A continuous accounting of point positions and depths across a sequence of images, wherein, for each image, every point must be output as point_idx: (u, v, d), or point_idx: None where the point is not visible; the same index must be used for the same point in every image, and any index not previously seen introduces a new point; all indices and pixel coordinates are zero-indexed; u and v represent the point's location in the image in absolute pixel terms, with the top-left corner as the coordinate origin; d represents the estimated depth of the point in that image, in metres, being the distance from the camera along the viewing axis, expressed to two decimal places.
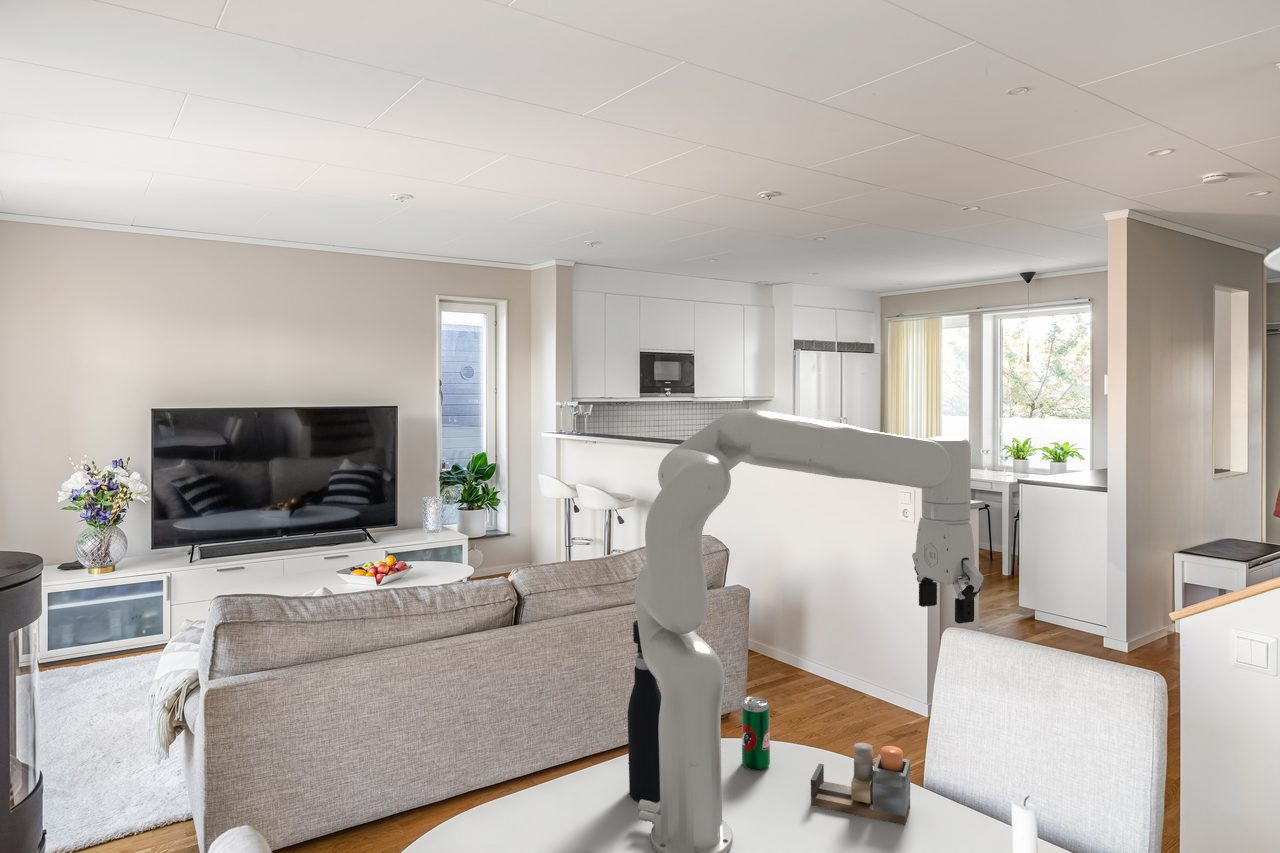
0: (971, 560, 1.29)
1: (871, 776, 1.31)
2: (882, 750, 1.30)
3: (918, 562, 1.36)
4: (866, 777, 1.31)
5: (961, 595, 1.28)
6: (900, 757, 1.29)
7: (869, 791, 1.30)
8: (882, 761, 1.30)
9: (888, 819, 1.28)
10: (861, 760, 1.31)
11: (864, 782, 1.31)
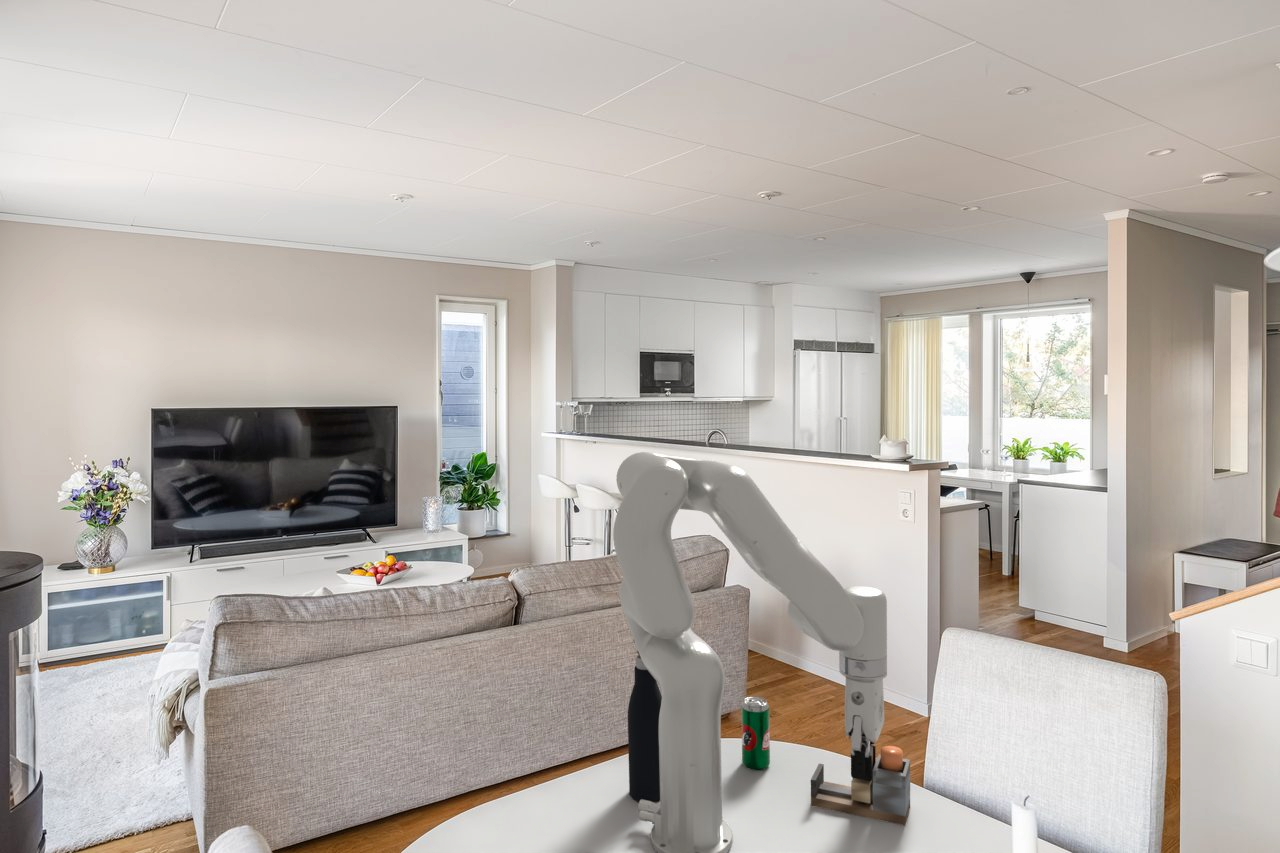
0: None
1: None
2: (882, 750, 1.30)
3: (876, 729, 1.27)
4: None
5: None
6: (900, 757, 1.29)
7: (869, 791, 1.30)
8: (882, 761, 1.30)
9: (888, 819, 1.28)
10: None
11: (864, 782, 1.31)
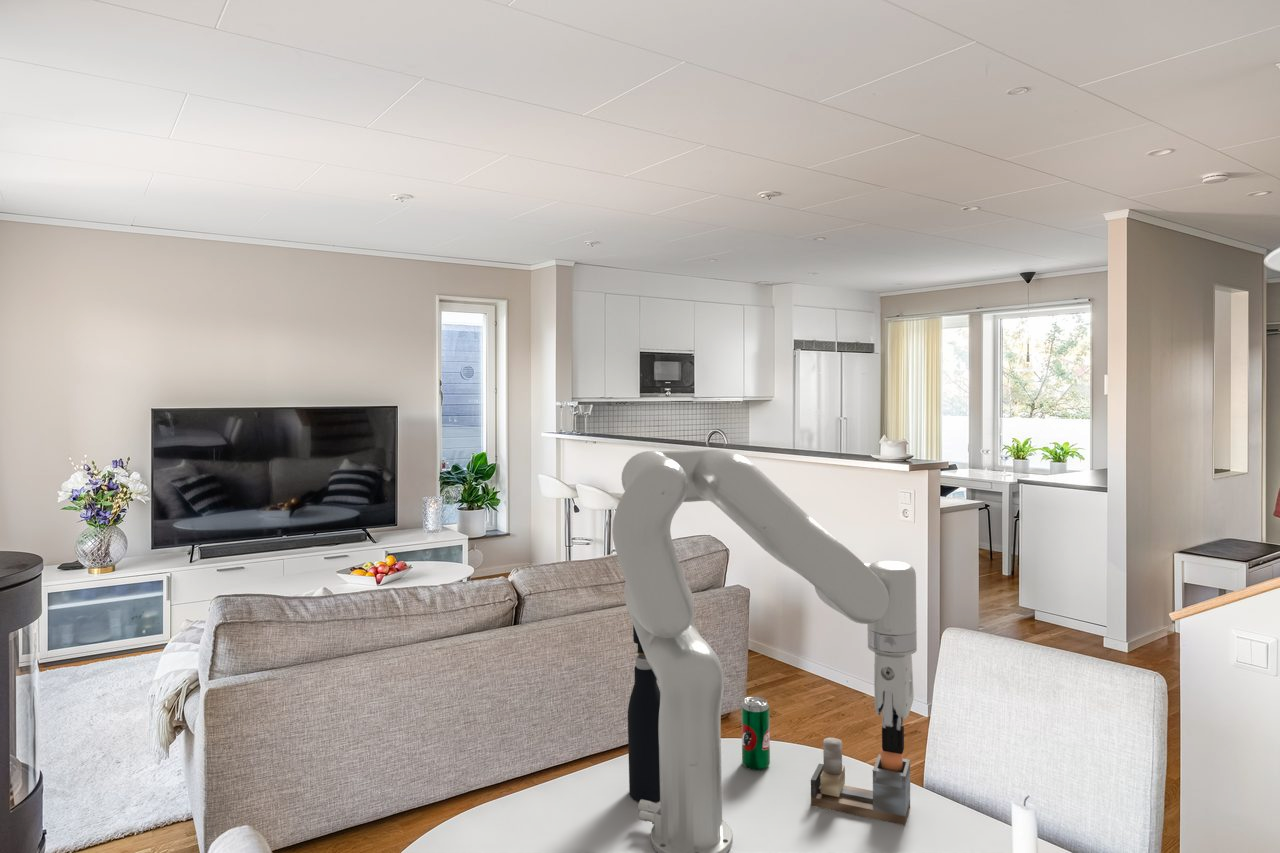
0: None
1: (840, 770, 1.33)
2: (882, 750, 1.30)
3: (907, 705, 1.25)
4: (835, 771, 1.33)
5: (902, 721, 1.31)
6: (900, 757, 1.29)
7: (838, 785, 1.32)
8: (882, 761, 1.30)
9: (888, 819, 1.28)
10: (830, 754, 1.33)
11: (833, 776, 1.33)
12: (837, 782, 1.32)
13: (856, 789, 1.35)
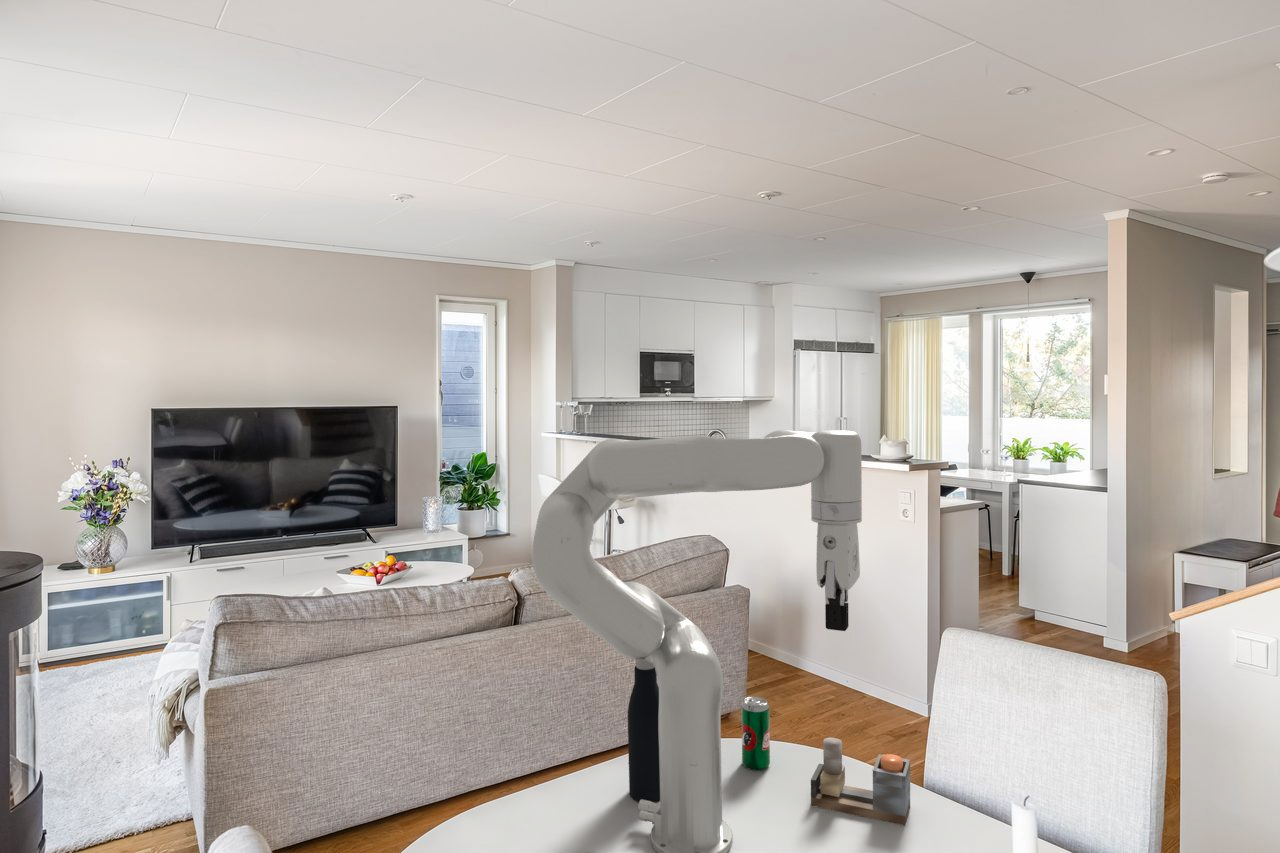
0: None
1: (840, 770, 1.33)
2: (882, 759, 1.30)
3: (850, 576, 1.20)
4: (835, 771, 1.33)
5: (847, 598, 1.25)
6: (900, 766, 1.29)
7: (838, 785, 1.32)
8: None
9: (888, 819, 1.28)
10: (830, 754, 1.33)
11: (833, 776, 1.33)
12: (837, 782, 1.32)
13: (856, 789, 1.35)
